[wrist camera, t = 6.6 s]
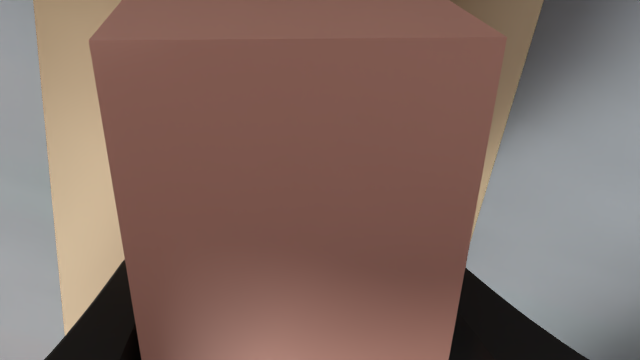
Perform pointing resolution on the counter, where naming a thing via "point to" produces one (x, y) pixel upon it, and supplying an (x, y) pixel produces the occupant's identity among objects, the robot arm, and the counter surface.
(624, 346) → the counter surface
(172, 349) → the pink block
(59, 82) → the cork mat
